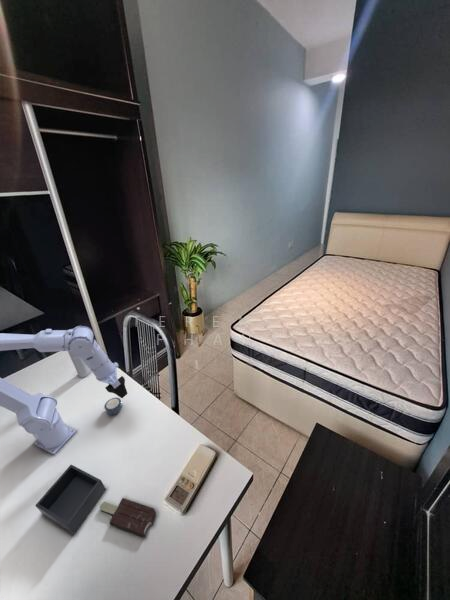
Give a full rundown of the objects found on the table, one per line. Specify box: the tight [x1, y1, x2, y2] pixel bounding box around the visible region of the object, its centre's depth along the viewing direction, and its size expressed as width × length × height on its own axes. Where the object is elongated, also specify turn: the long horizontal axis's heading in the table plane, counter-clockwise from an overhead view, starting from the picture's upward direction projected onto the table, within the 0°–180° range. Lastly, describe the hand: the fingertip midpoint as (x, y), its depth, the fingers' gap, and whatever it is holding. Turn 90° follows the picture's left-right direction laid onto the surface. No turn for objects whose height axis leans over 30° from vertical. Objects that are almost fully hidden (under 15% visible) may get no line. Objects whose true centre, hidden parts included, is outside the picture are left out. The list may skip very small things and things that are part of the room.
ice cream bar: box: [99, 497, 157, 538], centre depth 62 cm, size 5×2×15 cm
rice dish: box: [104, 397, 123, 416], centre depth 89 cm, size 6×6×3 cm
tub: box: [34, 464, 107, 536], centre depth 64 cm, size 11×10×5 cm
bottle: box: [67, 351, 91, 378], centre depth 102 cm, size 4×4×20 cm
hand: (119, 389), depth 81 cm, fingers open, 7 cm apart
